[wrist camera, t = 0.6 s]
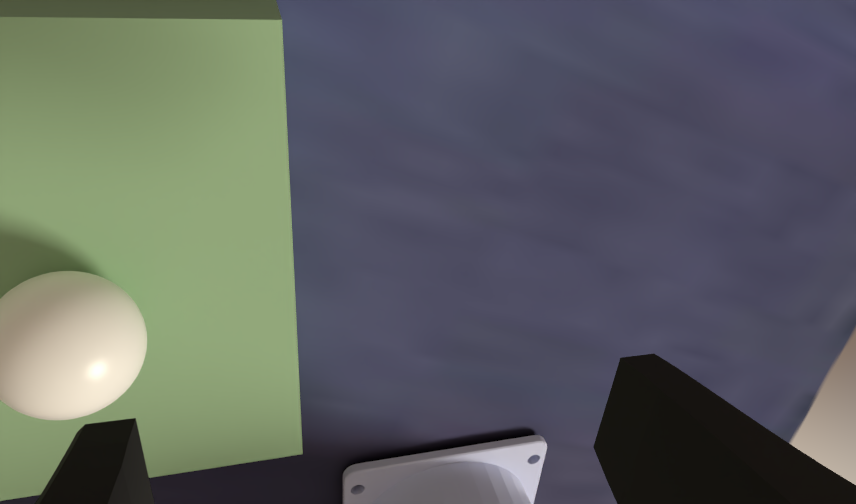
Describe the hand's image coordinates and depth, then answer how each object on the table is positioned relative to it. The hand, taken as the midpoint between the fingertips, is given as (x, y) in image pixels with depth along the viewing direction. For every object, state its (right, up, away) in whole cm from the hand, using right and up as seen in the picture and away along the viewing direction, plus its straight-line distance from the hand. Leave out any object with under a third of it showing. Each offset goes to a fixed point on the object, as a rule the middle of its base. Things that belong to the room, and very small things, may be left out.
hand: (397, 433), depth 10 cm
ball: (-8, +2, +6) cm, 10 cm away
